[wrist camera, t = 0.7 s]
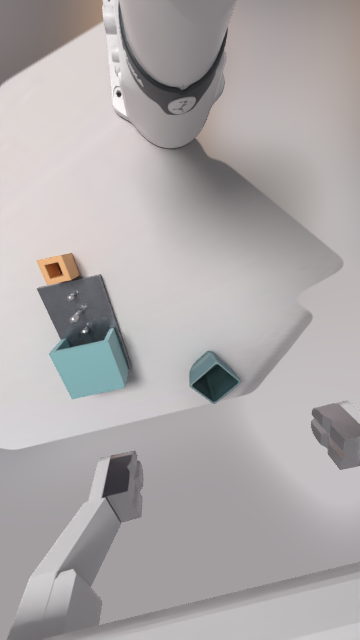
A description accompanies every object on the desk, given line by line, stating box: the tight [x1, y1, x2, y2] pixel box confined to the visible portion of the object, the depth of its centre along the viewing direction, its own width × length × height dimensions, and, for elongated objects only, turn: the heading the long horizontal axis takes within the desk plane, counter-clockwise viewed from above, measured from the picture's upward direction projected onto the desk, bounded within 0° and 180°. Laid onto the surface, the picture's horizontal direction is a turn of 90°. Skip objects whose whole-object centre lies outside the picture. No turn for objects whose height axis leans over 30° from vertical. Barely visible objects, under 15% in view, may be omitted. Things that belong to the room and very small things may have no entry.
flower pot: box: [190, 351, 241, 404], centre depth 53 cm, size 9×9×9 cm
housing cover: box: [49, 328, 129, 399], centre depth 48 cm, size 12×12×6 cm
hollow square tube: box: [37, 253, 80, 285], centre depth 42 cm, size 5×5×5 cm
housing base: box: [37, 275, 131, 370], centre depth 47 cm, size 24×13×6 cm, turn 11°
